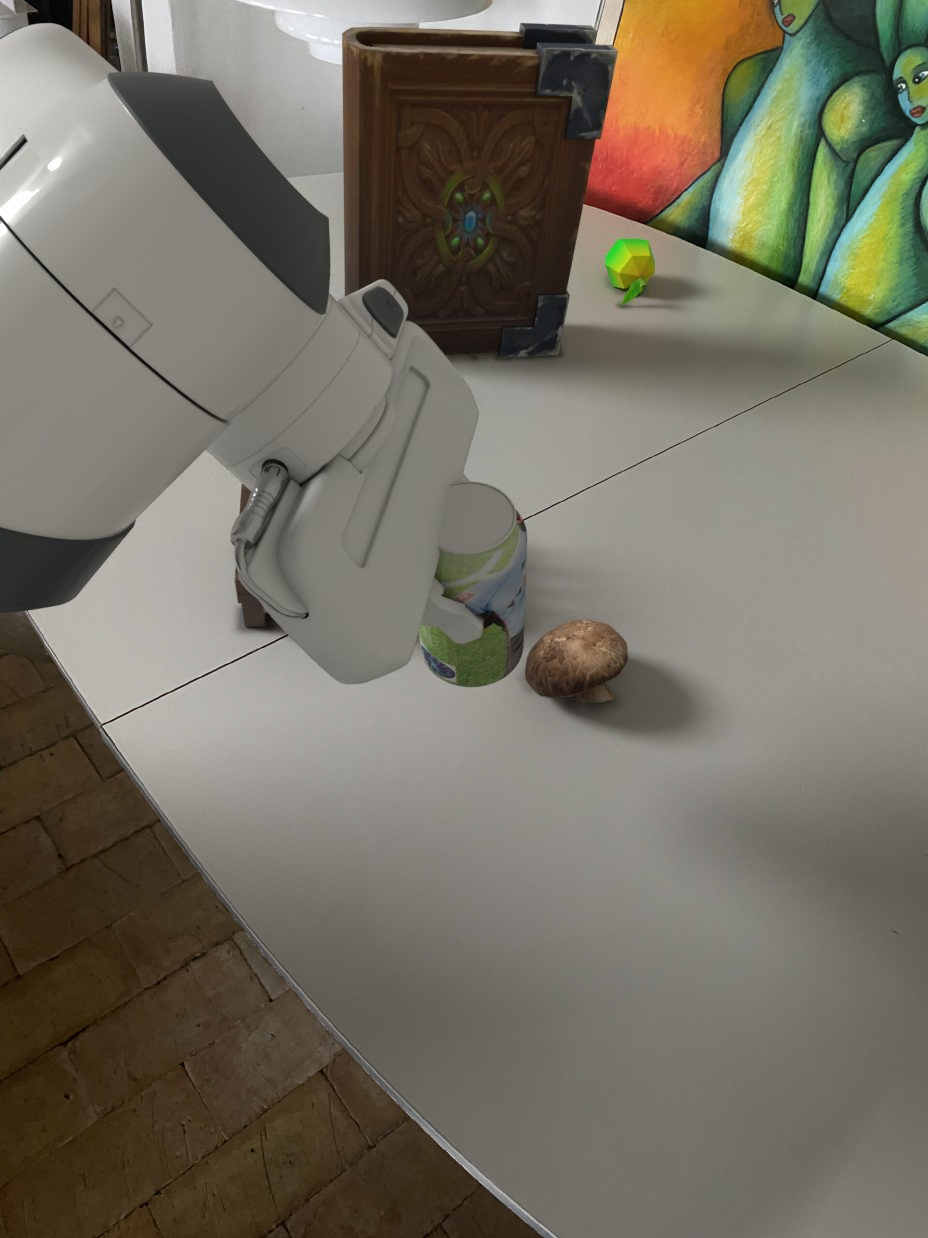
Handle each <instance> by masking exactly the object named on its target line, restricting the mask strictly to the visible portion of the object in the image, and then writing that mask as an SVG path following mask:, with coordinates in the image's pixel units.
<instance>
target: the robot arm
mask: <svg viewBox="0 0 928 1238" xmlns="http://www.w3.org/2000/svg"><path fill="white" fill-rule="evenodd" d="M330 233H331V232H330V219H329V216H328V215H326V214H324V213H323V212H321V211H319V210H318V209H317V208H316V207H315V206H314V205H313V204H312V203H311V202H310V201H308V200H307V198H305V196H303V194H302V193H301V192H300V191H298V190H297V188H296V187H295V186H294V185H293V184H292V183H291V182H290V181H289V180H288V179H287V178H286V177H285V175H283V173H282V172H281V171H280V170H279V169H278V168H277V166H276V165H275V164H274V163H273V162H272V160H270V158H269V157H268V156H267V154H265V152H264V151H263V149H262V148H260V146H259V145H258V144H257V142H256V141H255V139H253V137H252V136H251V135H250V133H249V132H248V131H247V130H246V128H245V127H244V126H243V124H242V123H241V121H240V120H239V118H238V117H237V116H236V114H235V113H234V112H233V111H232V109H231V108H230V106H229V105H228V103H227V102H226V101H225V99H224V97H223V96H222V94H221V92H220V91H219V90H218V87H216V84H215V83H214V80H212V79H211V80H210V79H206V78H199V77H193V76H186V75H180V74H174V73H167V72H154V71H153V72H152V71H137V70H136V71H135V70H134V71H119V70H118V69H116V68H115V66H113V65H112V64H111V63H109V61H108V60H106V59H105V58H104V57H103V56H101V54H99V53H98V52H97V51H96V50H95V49H93V47H91V46H90V45H89V44H88V43H87V42H85V41H84V40H83V39H82V38H81V37H79V36H78V35H77V34H75V33H74V32H73V31H72V30H70V29H68V28H66V27H64V26H62V25H60V24H57V23H52V22H47V23H45V22H43V23H34V24H29V25H25V26H24V25H23V26H21V27H19V28H15V29H14V30H12V31H10V32H8V33H6V34H4V35H2V36H1V37H0V614H7V613H19V612H27V611H28V612H29V611H34V610H40V609H46V608H52V607H57V606H62V605H65V604H67V603H69V602H71V601H73V600H74V599H75V598H76V597H77V596H78V595H80V593H81V592H82V591H83V589H84V588H85V587H86V585H87V584H88V583H89V582H90V581H91V579H92V578H93V577H94V576H95V574H96V573H97V572H98V571H99V570H100V568H101V567H102V566H103V565H104V563H106V561H107V560H108V559H109V557H110V556H111V555H112V554H113V553H114V551H115V550H116V549H117V548H118V546H119V545H120V544H121V543H122V542H123V540H124V539H125V538H126V537H127V536H128V534H130V532H131V531H132V530H133V528H134V527H135V524H136V521H137V519H138V518H139V517H140V516H141V515H142V514H143V513H144V512H145V511H146V510H147V509H148V508H149V507H150V506H151V505H152V504H153V503H155V501H156V500H157V499H158V498H159V497H160V496H161V495H162V494H163V493H164V492H165V491H166V490H167V489H168V488H169V487H170V486H171V485H172V484H173V483H174V482H175V481H176V480H177V479H178V478H179V477H180V476H181V475H182V474H183V473H184V472H185V471H186V470H187V469H188V468H189V467H190V466H191V465H192V464H193V463H194V462H195V461H196V460H197V459H198V458H199V457H200V456H201V455H202V454H203V453H204V452H205V451H206V452H207V453H208V454H210V455H211V456H212V458H214V459H215V460H216V461H217V462H218V463H219V464H220V465H222V467H223V468H225V469H226V471H228V472H229V473H230V474H231V475H233V476H234V477H235V478H236V479H237V480H238V482H240V483H241V484H244V485H245V486H246V487H247V488H248V489H249V490H250V491H251V493H250V496H249V500H248V502H247V505H246V507H245V509H244V511H243V512H241V513H240V514H239V513H238V516H236V519H235V521H234V523H233V525H232V527H231V530H230V535H229V540H230V543H231V544H232V546H234V551H233V552H234V554H233V555H234V561H235V566H236V565H237V569H238V571H239V572H238V578H239V580H240V582H241V583H242V585H243V586H244V587H245V588H246V589H247V590H248V591H249V592H250V593H251V594H252V595H253V596H254V597H256V598H257V599H258V600H259V601H260V603H261V604H262V605H263V607H264V608H265V609H266V613H267V614H269V616H270V617H271V618H272V619H273V620H274V621H275V623H276V624H277V625H278V626H279V628H281V629H282V630H283V631H284V633H286V635H288V636H289V638H291V640H292V641H293V642H294V643H295V644H296V645H297V646H298V647H299V649H301V651H303V652H304V653H305V654H306V656H308V657H309V658H310V659H311V660H312V661H313V662H314V663H315V664H316V665H318V667H319V668H321V670H323V671H324V672H325V673H327V675H328V676H330V677H331V678H332V679H334V680H335V681H336V682H338V683H340V684H343V685H361V684H366V683H369V682H372V681H374V680H378V679H380V678H382V677H385V676H388V675H389V674H392V673H394V672H396V671H398V670H400V669H402V668H404V667H406V666H407V665H408V664H409V663H410V661H411V659H412V657H413V654H414V651H415V647H416V643H417V640H418V638H419V630H420V626H421V625H425V626H431V627H439V628H440V629H441V630H442V631H443V632H444V633H445V634H446V635H447V636H448V637H450V638H451V639H452V640H453V641H454V642H456V643H458V644H466V643H468V642H470V641H473V640H475V639H478V638H480V637H481V635H482V632H483V627H484V622H485V617H484V616H483V615H481V614H480V613H478V612H476V611H475V610H473V609H472V608H471V607H469V606H468V605H467V604H463V603H460V602H457V601H454V600H451V599H448V598H445V597H442V596H441V595H442V594H443V592H444V587H443V585H442V584H441V583H440V582H439V581H438V580H437V579H436V578H435V577H434V576H435V572H436V569H437V565H438V561H439V558H440V554H441V551H440V549H439V548H438V545H439V541H440V536H441V532H442V527H443V522H444V517H445V512H446V508H447V503H448V498H449V493H450V488H451V485H450V484H451V483H455V482H463V481H471V480H470V479H469V478H468V477H467V476H466V475H465V473H464V472H465V468H466V464H467V461H468V458H469V454H470V451H471V447H472V444H473V440H474V437H475V433H476V429H477V425H478V422H479V419H480V410H479V407H478V405H477V402H476V399H475V396H474V394H473V392H472V390H471V388H470V386H469V384H468V383H467V381H465V379H464V377H462V375H461V374H460V372H459V371H458V370H457V368H456V367H455V365H454V364H453V363H452V361H450V359H449V358H448V357H447V356H445V355H444V353H443V352H442V351H441V350H440V349H439V347H438V346H437V345H436V344H435V343H434V341H433V340H432V339H431V338H430V337H429V336H428V335H427V334H426V332H425V331H424V330H423V329H421V328H420V327H419V326H418V325H416V324H415V323H413V322H411V321H406V318H407V315H408V306H407V304H406V302H405V301H404V299H403V298H402V296H401V295H400V294H399V292H398V291H397V290H396V289H395V288H394V287H393V285H392V284H390V283H389V282H388V281H386V280H384V279H381V280H378V281H376V282H374V283H372V284H370V285H368V286H366V287H364V288H362V289H360V290H358V291H356V292H354V293H352V294H350V295H347V296H345V295H344V296H343V297H341V298H340V299H338V300H337V299H336V298H335V297H334V296H333V295H332V294H331V293H330V285H331V236H330V235H331V234H330ZM245 550H249V551H248V553H247V555H246V557H245Z"/></svg>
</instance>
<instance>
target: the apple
mask: <svg viewBox="0 0 928 1238" xmlns="http://www.w3.org/2000/svg"><path fill="white" fill-rule="evenodd" d="M604 260H605V261H604V266H605V268H606V272H607V274H608V277H609V280H610V283H611V286H612V287H613V288H619V289H626V290H625V293H624V297H623V300H622V303H621V307H623V306H625V305H627V304H628V303H630V302H631V301H633V300H634V299H636V298H638V297H639V296H640V295H641V294H642V292H643V290H645V289H646V287H647V286H648V284H649V282H648V281H649V280H650V279H651V278H652V277H653V275H654V274H655V273H656V261H655V257H654V254H653V252H652V248H651V244H650V241H649V239H643V238H617V240H616V241H615V242H614V244H613V245H612V246H611V248H609V251H608V252H607V253H606V255H605V259H604Z"/></svg>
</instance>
